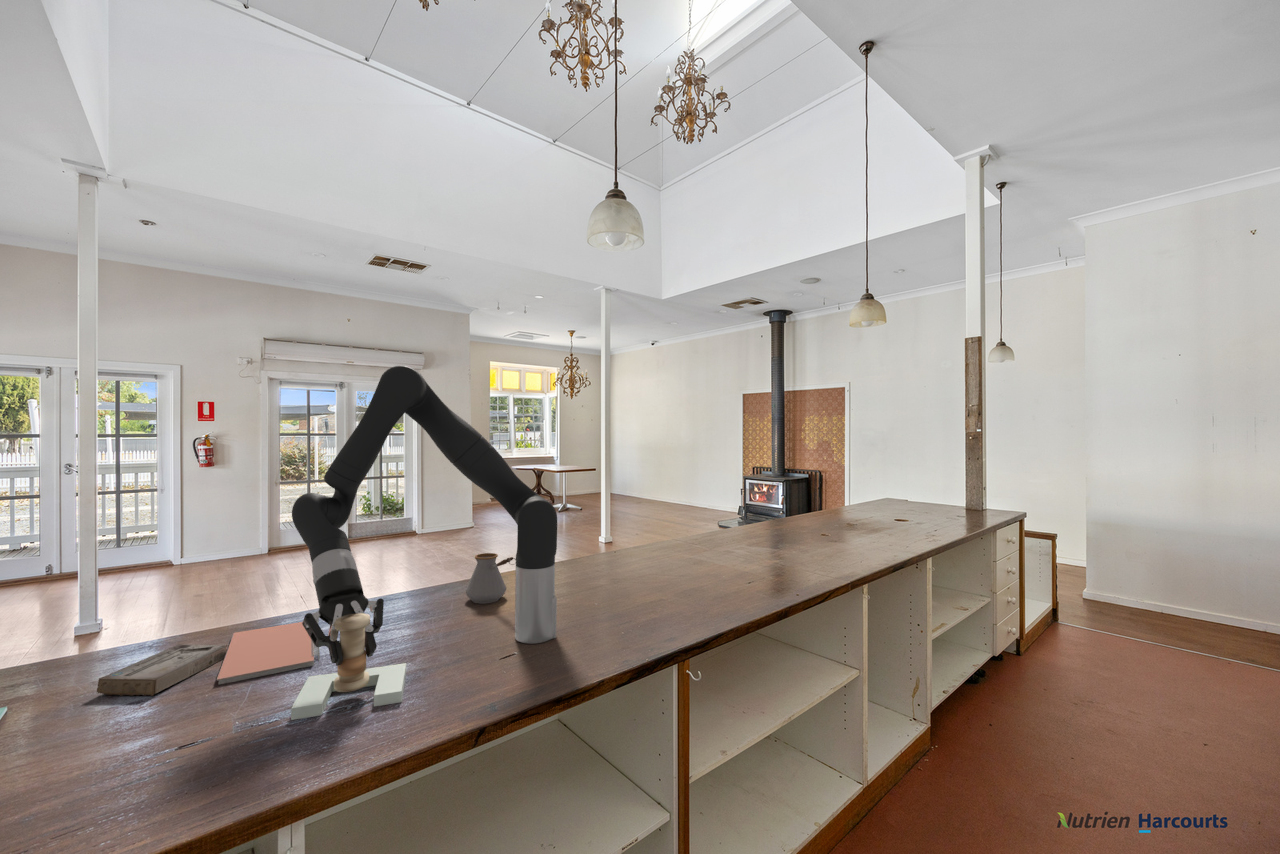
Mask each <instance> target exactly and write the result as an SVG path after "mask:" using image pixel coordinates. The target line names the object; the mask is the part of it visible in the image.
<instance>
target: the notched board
mask: <svg viewBox="0 0 1280 854" xmlns="http://www.w3.org/2000/svg"><path fill="white" fill-rule="evenodd" d="M365 671H366V672H368V673H369V683H368V684H367V685H366V686H364V687H363V688H366V687H375V690H374V693H373V707H375V708H376V707H381V706H385V705H391V704H392V705H393V704H398V703H399V704H400V703H402V701H403V696H404V690H405V683H406V676H407V663H406V662H405V663H399V664H390V665H384V666H376V667H368V668H366V670H365ZM338 676H339V675H338V672H334V673H326V674H318V675H312V676H311V675H310V676H308V677H307V679H306V680H305V683H304V684H303V687H302V688H301V690H300V692H299V694H298V695H297V697H296V699H295V700H294V702H293V704H292V707H291V709H290V712H291V713H290V717H291V718H290V720H291V721H294V720H300V719H306V718H312V717H320V716H323V713H324V711H325V708H326V707H327V704H328V701H329V699H330V697H331V694H332V692H337V691H336V690H334V680H335V679H336V678H337V677H338Z"/></svg>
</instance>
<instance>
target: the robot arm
mask: <svg viewBox="0 0 1280 854" xmlns="http://www.w3.org/2000/svg"><path fill="white" fill-rule="evenodd" d="M405 414H406V415H407V416H408V417H410V418H411V419H412V420H413V421H414V422H416V423H417V424H418V425H419V426H420V427H421V428H422V429H423V430H424V431H425V432H426V433H427V435H428V436H429V438H430V439H431V440H432V442H433V443H434V444H435V446H436V447H437V448H438V450H440V452H441V453H442V455H444V457H445V458H446V459H447V460H448V461H449V462H450V463H451V464H452V465H453V466H454V467H455V468H456V469H457V470H458V471H459V472H460V473H461V474H462V475H463V476H465V478H467V479H468V480H469V481H470V482H472V483H473V485H475V486H477V487H479V488H480V489H481V490H483V491H484V492H485V493H487V494H489V495H490V496H492V498H493V499H495V500H496V501H497V502H498V503H499V504H500V505H501V506H502V507H503V508H504V510H505V511H506V512H507V513H508V514H509V516H511V518H512V519H513V520H514V522H515V523H516V525H517V538H516V539H517V540H516V541H517V542H516V543H517V544H516V545H517V547H516V554H515V559H516V560H515V600H514V603H515V604H514V605H515V607H514V608H515V610H514V612H515V613H514V616H515V617H514V618H515V619H514V621H515V623H514V625H515V626H514V634H515V635H514V639H515V640H516V641H517V642H520V643H522V644H541V643H545V642H548V641H550V640H552V639H556V638H557V607H558V606H557V602H558V601H557V597H556V595H555V593H556V591H555V589H556V588H555V586H556V583H555V578H556V577H555V576H556V573H555V572H556V570H555V569H556V568H555V567H556V564H555V563H556V554H557V549H558V515H557V511H556V507H555V506H554V505H553V504H552V503H551V502H550V501H549V500H547V499H545V498H544V497H542V496H541V495H539V494H538V493H537V492H535V490H533V489H532V488H530V486H528V485H527V484H525V483H524V482H523V481H522V480H521V479H520V478H519V477H518V476H517V475H516V474H515V472H514V471H513V469H512V468H511V467H510V465H509V464H508V463H507V461H506V460H505V459H504V458H503V456H502V455H501V454H500V453H499V451H497V450H496V448H495V447H494V446H493V445H492V444H491V442H489V441H488V440H487V439H486V438H485V437H484V436H483V435H482V434H481V433H480V432H479V431H478V430H477V429H475V428H474V427H473V426H472V425H471V424H469V423H468V422H467V421H465V420H464V419H463V418H462V417H460V416H459V415H458V414H457V413H455V412H454V411H453V410H452V409H450V408H449V407H448V406H447V405H446V404H445V403H444V402H443V400H441V398H440V397H439V396H438V394H436V392H435V391H434V390H433V389H432V388H431V386H430V385H429V384H428V381H426V380H425V378H424V377H423V376H422V374H421V373H420V372H418V371H417V370H416V369H414V368H412V367H409V366H407V365H394V366H392V367H390V368H388V369H386V370H385V371H384V372H383V373H382V374H381V377H380V378H379V381H378V383H377V386H376V389H375V391H374V393H373V396H372V397H371V400H370V402H369V404H368V407H367V409H366V410H365V412H364V414H363V416H362V418H361V419H360V422H358V424H357V426H356V427H355V429H354V430H353V432H352V433H351V434H350V436H349V437H348V439H347V440H346V442H345V443H344V445H343V446H342V448H341V449H340V450H339V452H338V454H337V455H336V457H335V458H334V459H333V461H332V463H331V464H330V465H329V468H328V469H327V470H326V472H325V473H324V475H323V476H324V477H323V480H324V482H325V483H326V484H327V485H328V486H329V487H331V488H333V489H334V492H333V495H332V496H328V495H327V496H326V495H323V494H319V493H315V492H308V493H304V494H301V495H300V496H299V497H298V498H297V499H296V500H295V501H294V503H293V505H292V508H291V509H292V510H291V519H292V523H293V526H294V527H295V529H296V530H297V533H298V534H299V536H300V537H301V539H302V541H303V542H304V544H305V545H306V546H307V548H308V553H309V558H310V562H311V566H312V567H311V568H312V578H313V579H312V582H313V584H314V585H313V586H314V587H315V588H314V589H315V594H316V596H317V598H316V599H317V603H318V606H319V607H318V611H316V612H313V613H311V612H308V613H306V614H305V615H304V617H303V620H302V621H301V622H302V625H303V626H304V628H305V630H306V631H307V633H308V635H309V636H310V638H311V640H312V641H313V643H314V645H315V646H316V647H319V648H321V647H326V648H328V652H329V657H330V662H331V663H332V664H335V666H336V667H338V665H341V664H342V662H343V655H342V651H341V646H340V640H338V637H339V633H340V631H338V630H336V629H335V620H336V619H338V618H340V617H342V616H345V615H349V614H357V613H364V614H366V613H365V612H366V609H369V611H370V613H372V614H373V615H372V624H371V623H370V624H369V625H368V626H366V627H365V650H366V658H370V657H372V656H374V653H375V652H376V649H377V646H378V645H377V642H376V637H375V634H377V633H379V632H380V630H381V627H382V626H383V623H384V621H383V620H384V604H385V603H384V602H385V600H384V598H378V599H377V600H369V599H368V597H366V596H365V594H364V590H363V586H362V583H361V577H360V575H359V571H358V566H357V563H356V560H355V558H354V555H353V553H352V550H351V545H350V542H349V538H348V536H347V534H346V532H345V531H344V530H342V529H340V528H342V527H343V526H344V525H345V524H346V522H347V521H348V520H349V517H350V516H351V515H350V514H351V512H352V508H353V506H354V502H355V499H356V496H357V494H358V490H359V488H360V486H361V484H362V482H363V481H364V480H365V478H366V476H367V475H368V473H369V472H370V470H371V469H372V467H373V465H374V464H375V461H377V460H376V459H377V458H378V457H379V454H380V452H381V450H382V448H383V446H384V444H385V442H386V440H387V438H388V436H389V435H390V433H391V432H392V430H393V429H394V427H395V425H396V424H397V423H398V421H399V420H400V419H401V418H402V417H403V416H404V415H405ZM320 619H321V620H322V621H324V623H326V624H327V625H329V629H328V634H327V635H325V633H324V632H323V629H322V628H321V627H320V625H319V623H320Z"/></svg>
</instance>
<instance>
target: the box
mask: <svg viewBox="0 0 1280 854" xmlns="http://www.w3.org/2000/svg"><path fill="white" fill-rule="evenodd" d="M227 650H228V644H226V645H225V644H187V643H186V644H183V643H178V644H175V645H173V646H171V647H168V648H167V649H165V650H163V651H160V652H158V653H156V654H155V653H154V654H153V655H150V656H148V657H146V658H144V659H141V660H139V661H137V662H135V663H132V664H130V665H127V666H125V667H122V668H121V669H118V670H116V671H114V672H110V673H109V674H107V675H105V676H102V677H99V678H98V682H97V688H96V693H97V694H104V695H106V696H107V695H108V696H112V695H115V696H120V697H123V696H131V697H133V696H140V695H142V696H143V697H146V696H150V697H153V696H154V695H155V694H158V693H159V692H162V691H163V690H165V689H168V688H170V687H171V686H173V685H176V684H177V683H179V682H182V681H183V680H185V679H188V678H190V677H191V676H193V675H195V674H197V673H199V672H201V671H204V670H205V669H207V668H209V667H211V666H213V665H215V664H216V663H218V662H221V661H222V660H224V658H225V656H226V653H227Z"/></svg>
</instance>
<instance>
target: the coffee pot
mask: <svg viewBox="0 0 1280 854" xmlns="http://www.w3.org/2000/svg"><path fill="white" fill-rule="evenodd" d="M498 557H499V555H498V554H497V553H494V552H483V553H478V554H476V555H475V556H474V559H475V560H476V566H475V567H474V571H473V573H472V575H471V577H470V579H469V581H468V584H467V586H466V589H465V594H466V596H467V598H469V600H471V601H472V602H473V603H475V604H481V605H483V604H484V605H485V604H492V603H495V602H498V601H499V600H500V598H501V597H503V596H504V595H505V594H506V591H507V586H506V583H505V581H504V579H503V577H502V573H501V572H500V569H499V567H500V566H504V565H506V564H507V563H508V564H509V565H510V566H511V565H512V566H514V565H515V563H512V564H511V561H513V560H515V561H516V557H515V558H514V557H512V556H511V557H510V556H509V557H507V558H505V559H503V560H501V561H499V562H498V563H497V562H496V561H497V558H498Z"/></svg>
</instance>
